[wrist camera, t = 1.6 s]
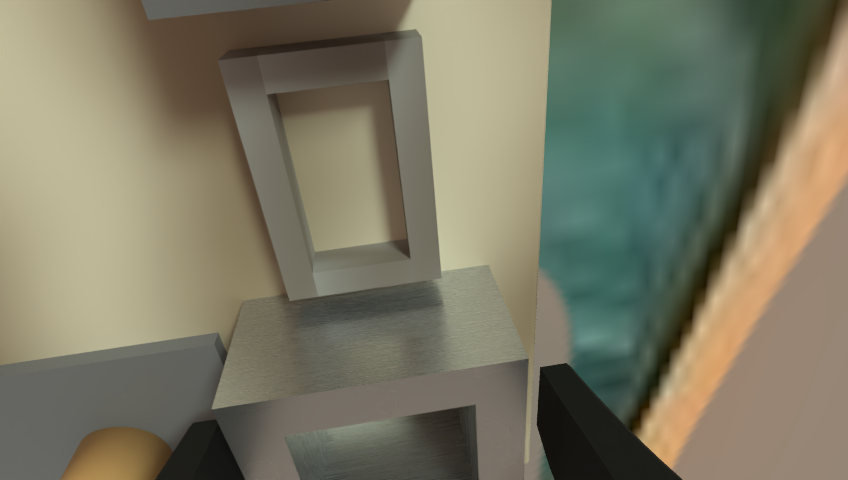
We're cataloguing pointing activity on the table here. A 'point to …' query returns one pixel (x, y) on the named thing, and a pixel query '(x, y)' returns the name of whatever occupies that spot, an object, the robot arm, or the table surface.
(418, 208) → the board
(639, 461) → the robot arm
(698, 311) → the table surface
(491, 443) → the square metal tube
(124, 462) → the square tray with peg
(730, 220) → the table surface
